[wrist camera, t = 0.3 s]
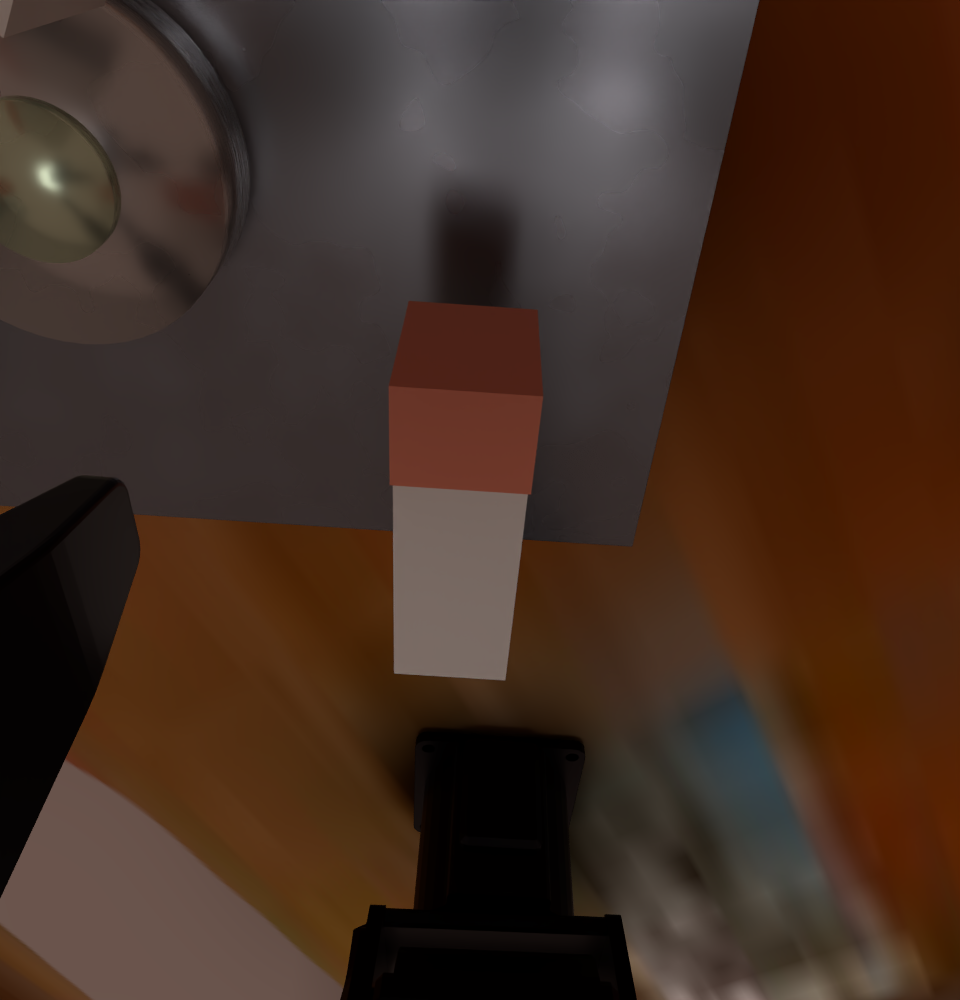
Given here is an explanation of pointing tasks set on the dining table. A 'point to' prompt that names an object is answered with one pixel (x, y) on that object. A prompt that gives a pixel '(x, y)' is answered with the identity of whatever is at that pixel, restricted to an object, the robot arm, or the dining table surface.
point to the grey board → (347, 238)
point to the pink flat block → (39, 13)
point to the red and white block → (460, 482)
